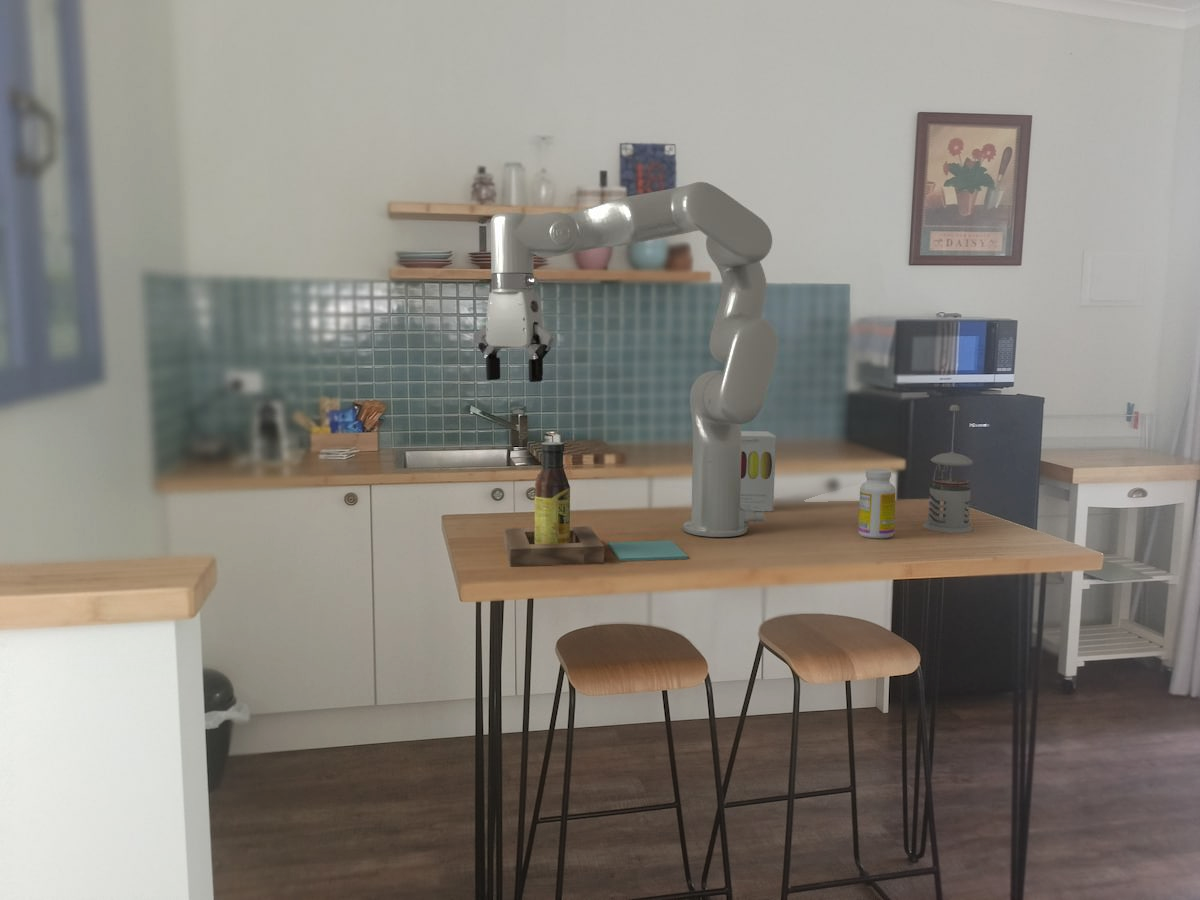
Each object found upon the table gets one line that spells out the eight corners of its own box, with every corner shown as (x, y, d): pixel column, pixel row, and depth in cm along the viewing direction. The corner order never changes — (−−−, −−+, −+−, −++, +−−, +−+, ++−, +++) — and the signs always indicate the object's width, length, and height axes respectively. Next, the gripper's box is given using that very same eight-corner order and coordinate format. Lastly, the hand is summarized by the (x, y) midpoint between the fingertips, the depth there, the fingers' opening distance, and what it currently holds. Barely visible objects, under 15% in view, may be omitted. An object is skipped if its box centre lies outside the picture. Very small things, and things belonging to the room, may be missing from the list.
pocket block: (589, 541, 184) (589, 526, 183) (604, 563, 168) (604, 546, 167) (504, 544, 181) (504, 528, 181) (510, 566, 165) (510, 549, 165)
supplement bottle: (896, 534, 192) (899, 469, 190) (890, 541, 186) (894, 474, 184) (861, 530, 195) (864, 466, 193) (855, 537, 189) (858, 471, 187)
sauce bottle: (565, 559, 171) (565, 446, 168) (530, 557, 172) (530, 444, 169) (573, 550, 177) (573, 441, 174) (540, 548, 178) (539, 440, 176)
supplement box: (730, 512, 213) (732, 435, 210) (724, 503, 222) (725, 430, 219) (774, 512, 213) (777, 435, 211) (766, 503, 222) (768, 430, 220)
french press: (932, 532, 193) (939, 406, 190) (912, 520, 205) (918, 401, 202) (981, 532, 194) (989, 407, 190) (958, 520, 205) (965, 401, 202)
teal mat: (671, 543, 183) (671, 540, 183) (687, 558, 171) (687, 556, 171) (608, 545, 181) (608, 542, 181) (620, 561, 169) (620, 558, 169)
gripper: (564, 284, 173) (565, 381, 175) (488, 285, 182) (490, 377, 185) (538, 283, 167) (540, 383, 169) (461, 284, 176) (464, 380, 178)
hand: (514, 380), depth 177 cm, fingers open, 9 cm apart
